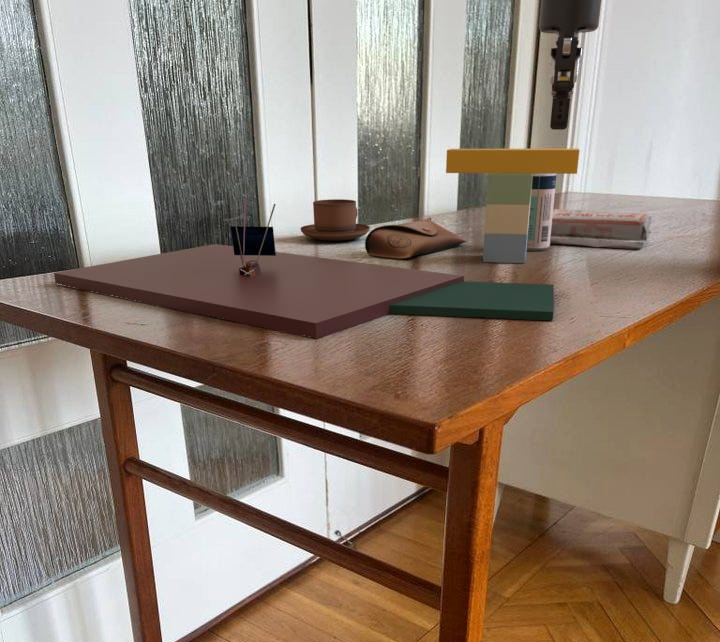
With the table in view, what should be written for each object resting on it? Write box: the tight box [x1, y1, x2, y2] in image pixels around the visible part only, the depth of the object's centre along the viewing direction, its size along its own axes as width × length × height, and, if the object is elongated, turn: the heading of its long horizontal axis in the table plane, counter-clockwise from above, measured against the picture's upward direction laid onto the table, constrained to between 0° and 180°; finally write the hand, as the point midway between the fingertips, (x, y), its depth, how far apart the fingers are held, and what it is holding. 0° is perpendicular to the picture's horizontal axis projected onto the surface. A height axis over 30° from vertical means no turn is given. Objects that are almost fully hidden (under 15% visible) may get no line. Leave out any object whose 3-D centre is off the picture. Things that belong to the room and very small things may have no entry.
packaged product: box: [550, 208, 652, 250], centre depth 124 cm, size 18×5×10 cm
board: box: [53, 198, 465, 339], centre depth 94 cm, size 45×28×10 cm, turn 52°
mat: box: [389, 280, 555, 321], centre depth 87 cm, size 22×14×1 cm, turn 77°
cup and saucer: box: [300, 198, 371, 242], centre depth 130 cm, size 12×12×6 cm
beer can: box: [526, 174, 557, 252], centre depth 117 cm, size 5×5×12 cm
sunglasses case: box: [364, 216, 467, 260], centre depth 120 cm, size 18×7×7 cm
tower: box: [482, 173, 533, 264], centre depth 109 cm, size 6×6×12 cm
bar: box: [445, 148, 580, 175], centre depth 106 cm, size 18×4×3 cm, turn 77°
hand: (558, 128), depth 103 cm, fingers open, 8 cm apart
